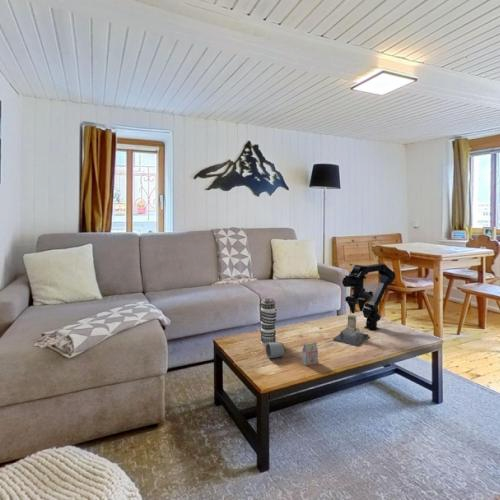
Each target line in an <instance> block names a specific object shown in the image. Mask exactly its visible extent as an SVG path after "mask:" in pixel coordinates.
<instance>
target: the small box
mask: <svg viewBox="0 0 500 500" xmlns="http://www.w3.org/2000/svg"><path fill="white" fill-rule="evenodd" d="M318 363H319V351H318V346H317V341H315V342H310V343H305V344H303V347H302V350H301V364H303V365H304V366H306V367H307V366H313V365H316V364H318Z"/></svg>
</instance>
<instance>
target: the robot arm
mask: <svg viewBox="0 0 500 500" xmlns="http://www.w3.org/2000/svg"><path fill="white" fill-rule="evenodd" d="M374 272H378V274H379V283H378V285H377V287H376V289H375V291H374V292H373V291H372V290H371V291H366V288H365V287H364V281H365V279H367V276H366V275H368V274H369V273H374ZM395 279H396V274H395V272H394V271H393V270H392V269H390V268H389V266H388V265H387V264H385V263H380V262H379V263H376V264H370V265H368V264H367V265H362V264H354V266H353V267H352V269H351V271H350V272H349V273H348V275H345V276H344V277H343V279H342V283H341V284H342V285H343V287H344V288H351V290H352V294H351V295H347V296H346V297H345V298H344V299H345V300H344V301H345V302H346V303H347V305H348V307H349V309H350V311H351V313H352V314H355V311H356V305H357V304H358V308H359V311H360V312H362V315H363V317H364V318H366V322H365V323H366V324H365V326H364V327H363V328H364V329H366V330H370V331H372V332H373V331H376V330H379V329H380V327H378V322H379V321H381V315H380V314H379V305H380V303H381V301H382V299H383V297H384V294H385V292H386V290H387V287H388V286H390V284H392V283H393V282H394V281H395ZM368 301H369V302H368ZM367 302H368V303H367Z"/></svg>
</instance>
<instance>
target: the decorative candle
mask: <svg viewBox="0 0 500 500" xmlns="http://www.w3.org/2000/svg"><path fill="white" fill-rule="evenodd" d="M260 303H261V305H260V307H261V308H260V309H259V315H260V324H261V327H260V343H261V345H263V346H266V344H267V343H273V342H276V341H277V339H276V338H277V337H276V332H277V331H276V323H277V322H276V321H277V312H276V311H277V309H276V303H277V302H276V301H275V299H273V298H271V297H270V298H269V297H266V298H263V299H262V301H260Z"/></svg>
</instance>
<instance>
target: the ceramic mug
mask: <svg viewBox="0 0 500 500" xmlns="http://www.w3.org/2000/svg"><path fill="white" fill-rule="evenodd" d="M285 349H286V348H285V345H284V343H283V342H279V341H278V342H276V341H275V342H273V343H267V344H266V345H265V353H266V354H265V355H266V357H267V358H268V359H275V358H282V357H284V356H285V353H286V350H285Z"/></svg>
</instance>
